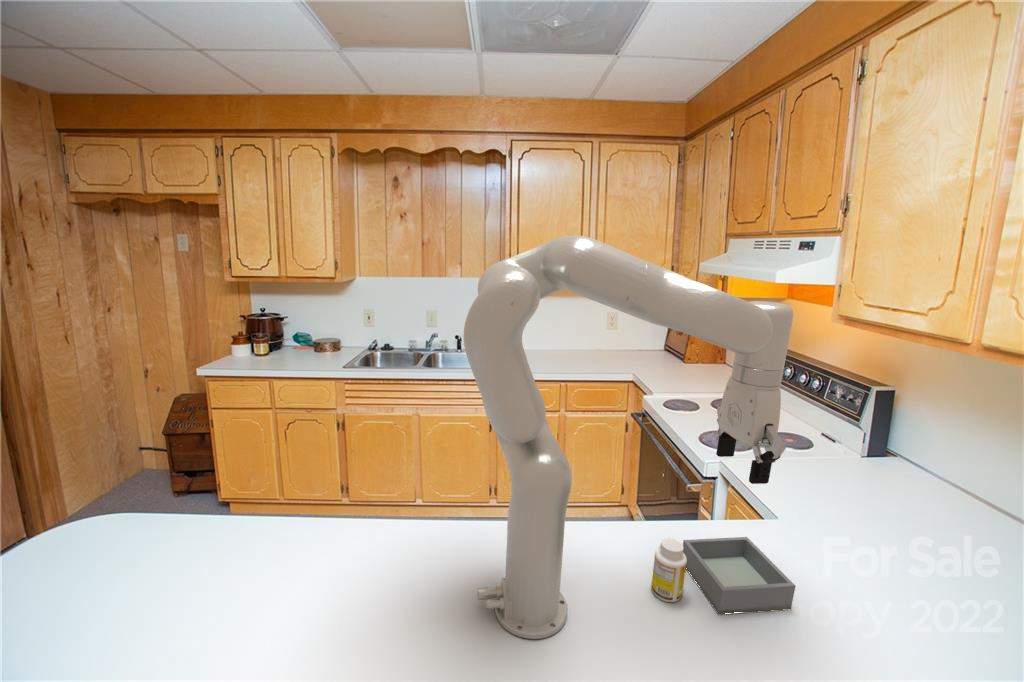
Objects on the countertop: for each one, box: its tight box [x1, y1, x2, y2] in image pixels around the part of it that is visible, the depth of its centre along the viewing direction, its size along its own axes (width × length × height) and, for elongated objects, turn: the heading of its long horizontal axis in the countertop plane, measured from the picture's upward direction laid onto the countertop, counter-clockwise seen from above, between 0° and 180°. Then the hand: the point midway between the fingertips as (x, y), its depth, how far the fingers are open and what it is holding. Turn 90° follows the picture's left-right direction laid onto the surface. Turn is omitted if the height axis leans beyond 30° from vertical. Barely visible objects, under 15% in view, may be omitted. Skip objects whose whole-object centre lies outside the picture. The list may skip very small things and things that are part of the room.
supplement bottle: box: [651, 537, 687, 603], centre depth 86 cm, size 6×6×10 cm
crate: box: [682, 536, 796, 615], centre depth 90 cm, size 14×14×5 cm
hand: (740, 468), depth 83 cm, fingers open, 9 cm apart
